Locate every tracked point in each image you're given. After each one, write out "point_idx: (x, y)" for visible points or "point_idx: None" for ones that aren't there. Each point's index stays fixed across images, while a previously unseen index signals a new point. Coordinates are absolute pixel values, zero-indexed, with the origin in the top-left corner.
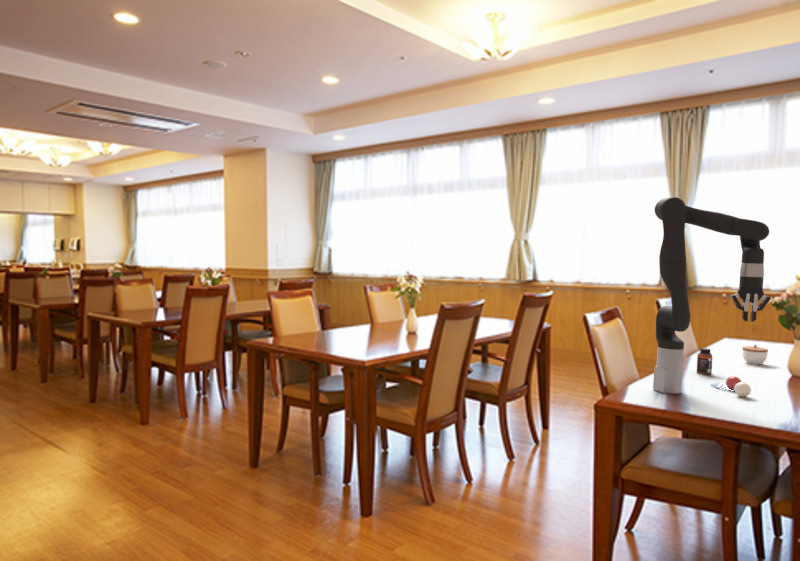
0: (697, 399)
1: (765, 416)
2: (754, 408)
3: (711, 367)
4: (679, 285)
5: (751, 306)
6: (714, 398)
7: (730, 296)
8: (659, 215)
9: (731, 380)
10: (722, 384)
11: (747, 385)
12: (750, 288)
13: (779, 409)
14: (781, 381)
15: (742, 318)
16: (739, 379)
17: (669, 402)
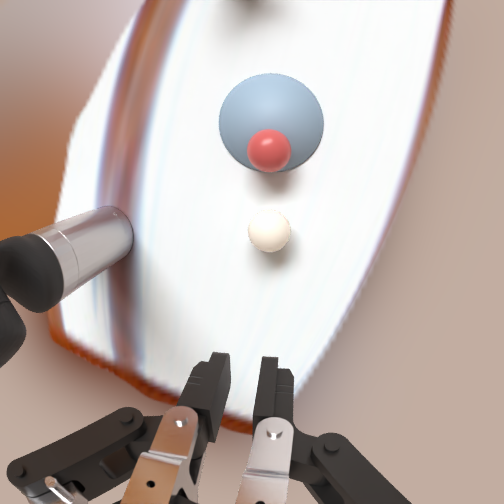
0: (160, 289)
1: None
2: (262, 329)
3: None
4: None
5: (248, 461)
6: (196, 268)
7: (11, 465)
8: None
9: (256, 165)
10: (256, 93)
11: (277, 247)
12: None
13: (315, 322)
14: (428, 18)
15: (196, 367)
16: (281, 159)
17: (115, 323)
